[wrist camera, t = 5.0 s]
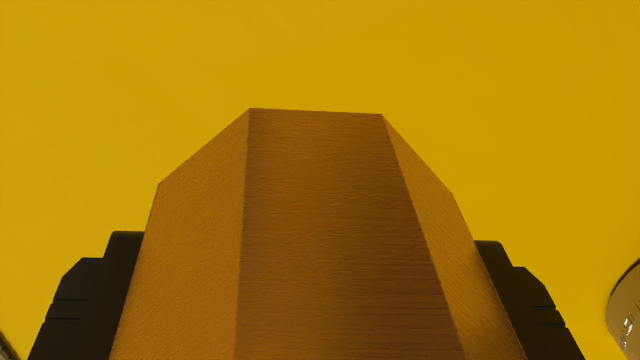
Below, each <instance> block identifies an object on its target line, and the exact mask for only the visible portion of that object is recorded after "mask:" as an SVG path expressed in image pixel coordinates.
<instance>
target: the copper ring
mask: <svg viewBox="0 0 640 360" xmlns="http://www.w3.org/2000/svg"><path fill="white" fill-rule="evenodd" d="M109 360H528V359H527V357H526V355H525V353H524V350H523V348H522V346H521V344H520V342H519V339H518V337H517V335H516V333H515V331H514V328H513V326H512V324H511V322H510V320H509V317H508V315H507V313H506V311H505V309H504V306H503V304H502V302H501V300H500V298H499V295H498V293H497V291H496V289H495V287H494V284H493V282H492V280H491V278H490V276H489V273H488V271H487V269H486V267H485V265H484V262H483V260H482V258H481V256H480V254H479V251H478V249H477V247H476V245H475V243H474V240H473V238H472V236H471V234H470V232H469V229H468V227H467V225H466V223H465V221H464V218H463V216H462V214H461V212H460V210H459V207H458V205H457V203H456V201H455V199H454V196H453V194H452V193H451V192H450V190H449V189H448V188H447V187H446V186H445V185H444V184H443V183H442V181H441V180H440V179H439V178H438V177H437V176H436V175H435V174H434V173H433V171H432V170H431V169H430V168H429V167H428V166H427V165H426V164H425V162H424V161H423V160H422V159H421V158H420V157H419V156H418V155H417V153H416V152H415V151H414V150H413V149H412V148H411V147H410V146H409V144H408V143H407V142H406V141H405V140H404V139H403V138H402V137H401V135H400V134H399V133H398V132H397V131H396V130H395V129H394V128H393V126H392V125H391V124H390V123H389V122H388V121H387V120H386V119H385V117H384V116H383V115H382V114H369V113H347V112H326V111H304V110H283V109H261V108H249V109H248V110H247V111H245V112H244V113H243V114H242V115H241V116H239V117H238V118H237V119H236V120H235V121H233V122H232V123H231V124H230V125H229V126H227V127H226V128H225V129H224V130H223V131H221V132H220V133H219V134H218V135H217V136H215V137H214V138H213V139H212V140H211V141H209V142H208V143H207V144H206V145H205V146H203V147H202V148H201V149H200V150H199V151H197V152H196V153H195V154H194V155H193V156H191V157H190V158H189V159H188V160H186V161H185V162H184V163H183V164H182V165H180V166H179V167H178V168H177V169H176V170H174V171H173V172H172V173H171V174H170V175H168V176H167V177H166V178H165V179H164V180H162V181H161V182H160V183H159V184H158V187H157V191H156V194H155V198H154V201H153V205H152V208H151V212H150V215H149V219H148V222H147V226H146V229H145V233H144V236H143V240H142V244H141V247H140V251H139V254H138V258H137V261H136V265H135V268H134V272H133V275H132V279H131V282H130V286H129V289H128V293H127V296H126V300H125V303H124V307H123V311H122V314H121V318H120V321H119V325H118V328H117V332H116V335H115V339H114V342H113V346H112V349H111V353H110V356H109Z"/></svg>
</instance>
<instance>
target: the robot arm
mask: <svg viewBox="0 0 640 360" xmlns="http://www.w3.org/2000/svg"><path fill="white" fill-rule="evenodd" d="M144 233H145V232H143V231H114V232H113V233H112V234H111V237H110V239H109V242H108V245H107V248H106V251H105V254H104V256H103V258H86V257H82V258H81V259H80V260H79V261H78V262H77V263H76V264H75V265H74V266H73V267H72V268H71V269H70V270H69V271H68V272H67V273H66V274H65V275H64V276H63V277H62V279H61V281H60V284H59V286H58V288H57V291H56V293H55V296H54V298H53V304H51V305H50V307H49V310H48V312H47V314H46V317H45V323H43V324H42V326H41V328H40V331H39V333H38V335H37V338H36V340H35V343H34V345H33V347H32V350H31V352H30V354H29V357H28V359H27V360H109V356H110V353H111V349H112V346H113V342H114V339H115V335H116V332H117V328H118V325H119V321H120V318H121V314H122V311H123V307H124V303H125V300H126V296H127V293H128V289H129V286H130V282H131V279H132V275H133V272H134V268H135V265H136V261H137V258H138V254H139V251H140V247H141V244H142V240H143V236H144ZM474 243H475V245H476V247H477V249H478V251H479V254H480V256H481V258H482V260H483V262H484V265H485V267H486V269H487V271H488V273H489V276H490V278H491V280H492V282H493V284H494V287H495V289H496V291H497V293H498V295H499V298H500V300H501V302H502V304H503V306H504V309H505V311H506V313H507V315H508V317H509V320H510V322H511V324H512V326H513V328H514V331H515V333H516V335H517V337H518V339H519V342H520V344H521V346H522V348H523V350H524V353H525V355H526V357H527V359H528V360H585V358H584V356H583V354H582V353H581V351H580V349H579V347H578V345H577V344H576V342H575V340H574V338H573V336H572V335H571V333H570V331H569V329H568V328H566V327H565V322H564V320H563V318H562V316H561V315H560V313H559V311H558V310H556V306H555V304H554V302H553V300H552V298H551V297H550V295H549V293H548V291H547V289H546V288H545V286H544V285H543V284H542V283H541V282H540V281H539V280H538V279H537V278H536V277H535V276H534V275H533V274H531V273H530V272H529V271H528V270H527V269H526V268H525V267H513V266H512V264H511V262H510V260H509V258H508V256H507V254H506V252H505V250H504V248H503V246H502V245H501V243H500V242H498V241H480V240H474ZM606 324H607V327H608V330H609V332H610V334H611V335H612V337H613V338H614V340H615V341H616V343H617V344H618V346H619V347H620V349H621V350H622V352H623V353H624V355H625V356H626V358H627V359H628V360H640V264H638V265H637V266H636V267H635V268H634V269H632V270H631V271H630V272H629V273H628V274H627V275H626V276H625V277H624V279H623V280H622V281H621V282H620V283H619V284H618V286H617V287H616V289H615V291H614V292H613V294H612V296H611V297H610V300H609V303H608V306H607V309H606Z"/></svg>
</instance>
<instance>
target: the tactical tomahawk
mask: <svg viewBox="0 0 640 360" xmlns="http://www.w3.org/2000/svg"><path fill="white" fill-rule="evenodd" d="M0 360H16V359H15V357H14V356H13V355H11V354H10V350H9V349H8V348H7V346H5V345H4V342H3V341H2V339H1V338H0Z"/></svg>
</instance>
